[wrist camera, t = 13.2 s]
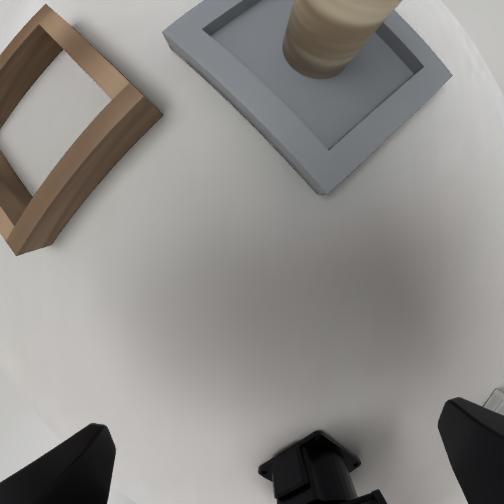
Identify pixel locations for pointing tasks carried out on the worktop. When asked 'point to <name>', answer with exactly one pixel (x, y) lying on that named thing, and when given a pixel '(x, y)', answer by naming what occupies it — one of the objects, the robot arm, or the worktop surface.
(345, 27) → the birch dowel
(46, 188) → the frame
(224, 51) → the slate gray tray
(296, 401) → the worktop surface
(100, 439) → the robot arm
